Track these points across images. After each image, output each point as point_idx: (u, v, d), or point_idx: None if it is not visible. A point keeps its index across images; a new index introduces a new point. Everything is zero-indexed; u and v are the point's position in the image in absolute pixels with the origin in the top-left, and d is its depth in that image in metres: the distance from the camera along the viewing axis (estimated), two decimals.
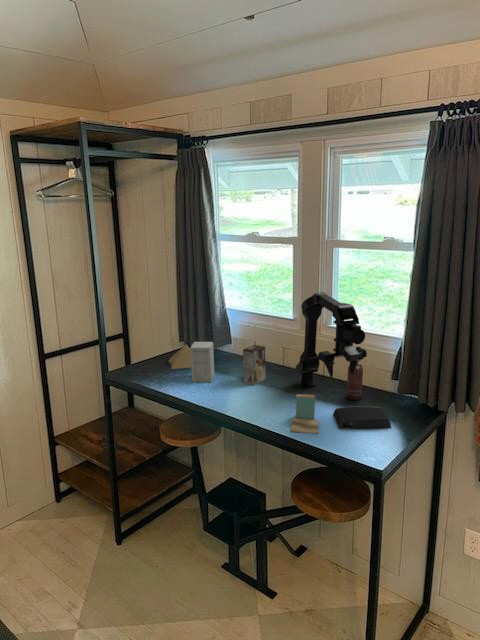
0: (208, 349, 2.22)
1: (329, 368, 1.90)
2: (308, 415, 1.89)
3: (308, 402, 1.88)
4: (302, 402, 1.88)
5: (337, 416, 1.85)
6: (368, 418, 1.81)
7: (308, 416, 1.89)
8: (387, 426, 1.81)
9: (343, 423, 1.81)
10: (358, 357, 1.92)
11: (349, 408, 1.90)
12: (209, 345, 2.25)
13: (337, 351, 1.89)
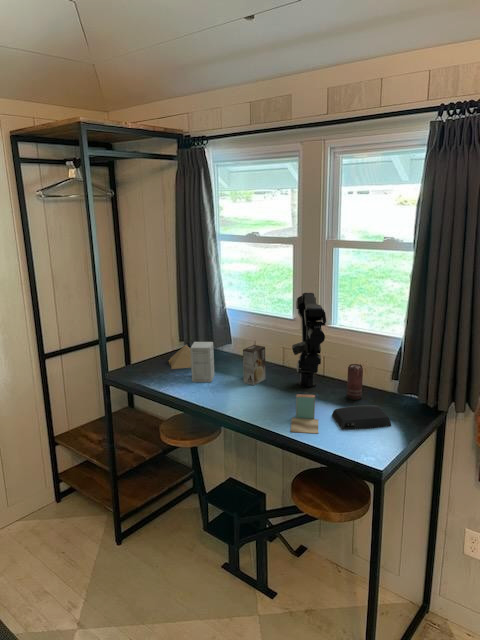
0: (208, 349, 2.22)
1: None
2: (308, 415, 1.89)
3: (308, 402, 1.88)
4: (302, 402, 1.88)
5: (338, 417, 1.84)
6: (369, 418, 1.82)
7: (308, 416, 1.89)
8: (387, 424, 1.82)
9: (345, 424, 1.81)
10: None
11: (348, 408, 1.89)
12: (209, 345, 2.25)
13: None
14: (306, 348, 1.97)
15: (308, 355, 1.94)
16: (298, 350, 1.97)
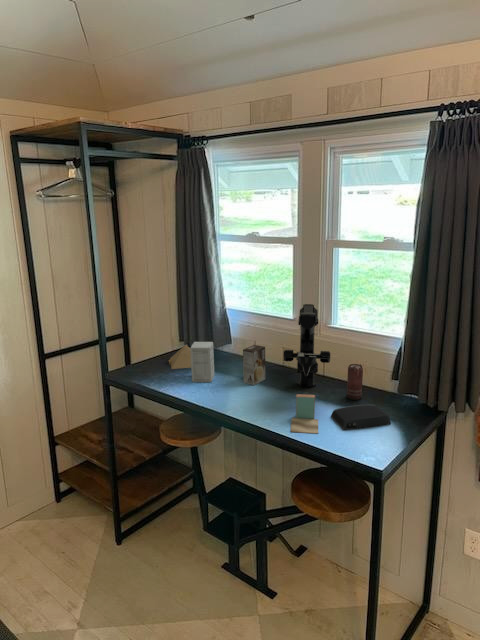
0: (208, 349, 2.22)
1: (309, 367, 1.99)
2: (308, 415, 1.89)
3: (308, 402, 1.88)
4: (302, 402, 1.88)
5: (339, 418, 1.84)
6: (370, 417, 1.82)
7: (308, 416, 1.89)
8: (387, 423, 1.84)
9: (347, 424, 1.80)
10: None
11: (347, 408, 1.89)
12: (209, 345, 2.25)
13: None
14: None
15: None
16: None
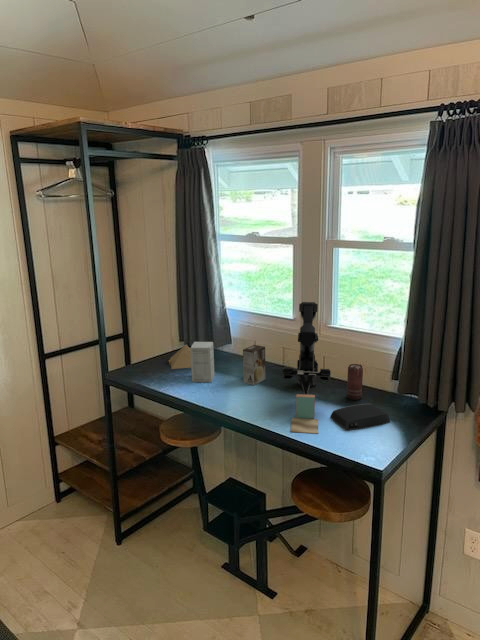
0: (208, 349, 2.22)
1: (309, 385, 1.94)
2: (308, 415, 1.89)
3: (308, 402, 1.88)
4: (302, 402, 1.88)
5: (340, 419, 1.83)
6: (370, 416, 1.83)
7: (308, 416, 1.89)
8: (387, 421, 1.85)
9: (349, 424, 1.80)
10: (301, 378, 1.97)
11: (346, 409, 1.89)
12: (209, 345, 2.25)
13: None
14: None
15: None
16: None
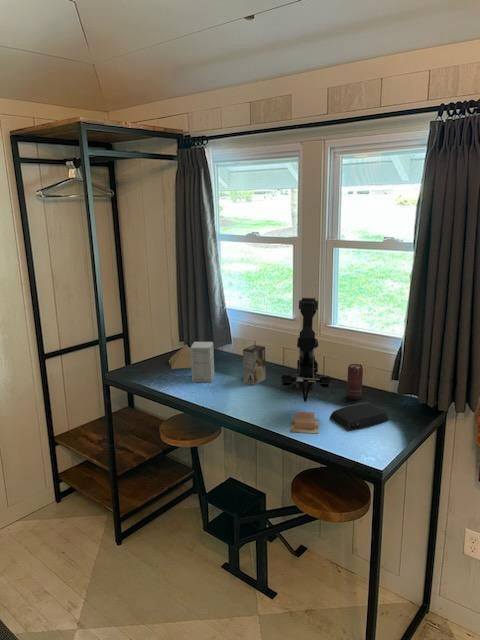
0: (208, 349, 2.22)
1: (309, 392, 1.88)
2: None
3: None
4: None
5: (341, 419, 1.83)
6: (371, 415, 1.84)
7: None
8: (386, 419, 1.86)
9: (351, 425, 1.80)
10: None
11: (345, 409, 1.89)
12: (209, 345, 2.25)
13: None
14: None
15: None
16: None
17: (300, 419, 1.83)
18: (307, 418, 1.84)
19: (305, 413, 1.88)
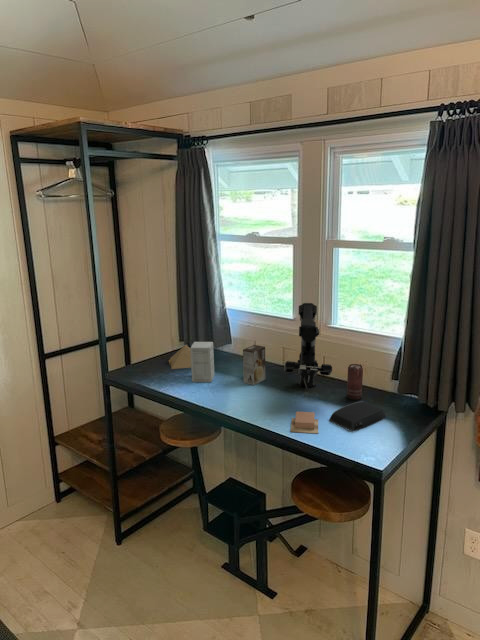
0: (208, 349, 2.22)
1: None
2: None
3: None
4: None
5: (343, 420, 1.82)
6: (371, 414, 1.85)
7: None
8: (383, 416, 1.89)
9: (354, 425, 1.80)
10: None
11: (343, 409, 1.89)
12: (209, 345, 2.25)
13: None
14: (299, 363, 2.03)
15: None
16: None
17: (300, 419, 1.83)
18: (307, 418, 1.84)
19: (305, 413, 1.88)
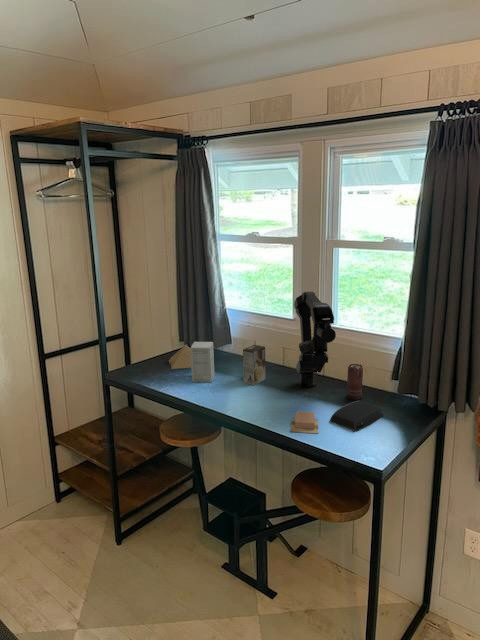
0: (208, 349, 2.22)
1: None
2: None
3: None
4: None
5: (345, 421, 1.82)
6: (370, 413, 1.86)
7: None
8: (381, 415, 1.90)
9: (356, 425, 1.80)
10: None
11: (343, 409, 1.88)
12: (209, 345, 2.25)
13: None
14: (313, 346, 1.96)
15: (315, 353, 1.92)
16: (305, 348, 1.95)
17: (300, 419, 1.83)
18: (307, 418, 1.84)
19: (305, 413, 1.88)
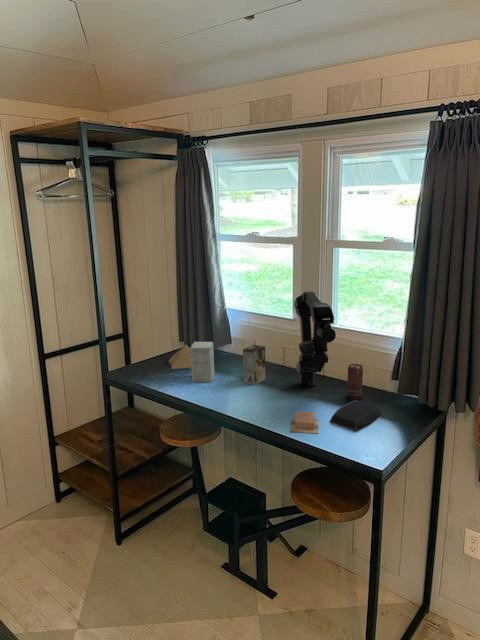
0: (208, 349, 2.22)
1: None
2: None
3: None
4: None
5: (346, 421, 1.82)
6: (370, 412, 1.86)
7: None
8: (380, 414, 1.91)
9: (358, 425, 1.80)
10: None
11: (342, 410, 1.88)
12: (209, 345, 2.25)
13: None
14: (313, 346, 1.96)
15: (315, 353, 1.92)
16: (305, 348, 1.95)
17: (300, 419, 1.83)
18: (307, 418, 1.84)
19: (305, 413, 1.88)
